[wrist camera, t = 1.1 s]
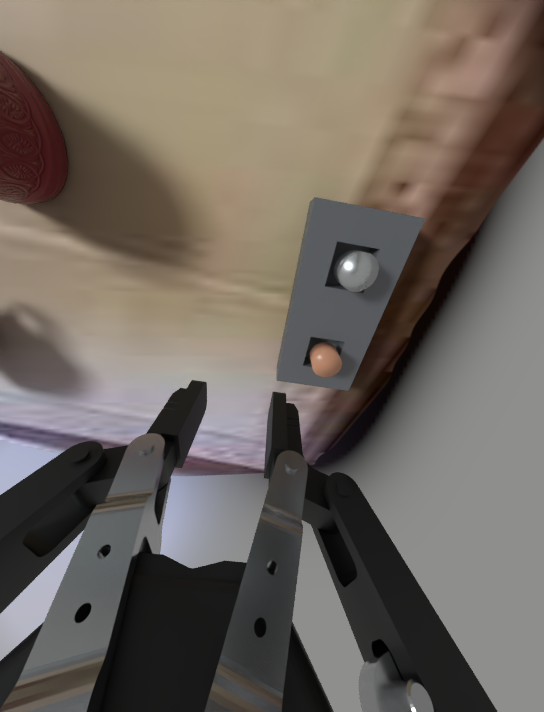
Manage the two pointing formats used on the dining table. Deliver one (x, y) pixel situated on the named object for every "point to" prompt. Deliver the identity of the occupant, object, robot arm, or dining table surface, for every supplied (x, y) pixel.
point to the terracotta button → (325, 360)
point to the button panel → (341, 287)
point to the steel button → (356, 270)
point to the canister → (28, 141)
